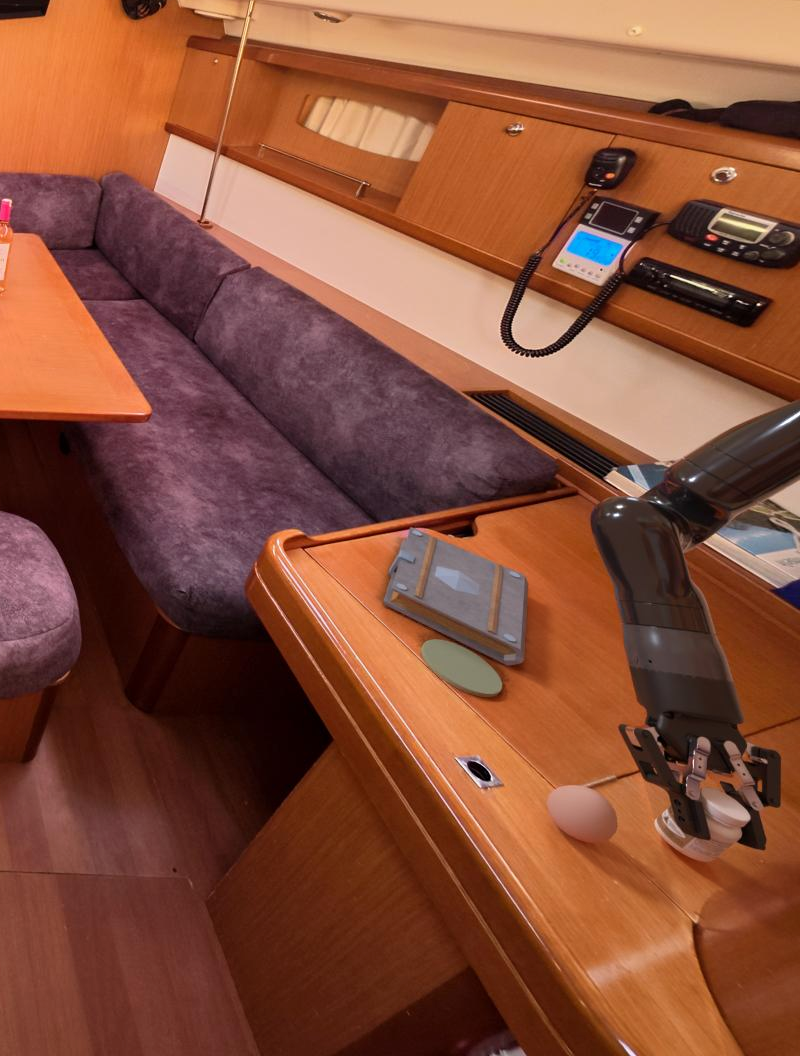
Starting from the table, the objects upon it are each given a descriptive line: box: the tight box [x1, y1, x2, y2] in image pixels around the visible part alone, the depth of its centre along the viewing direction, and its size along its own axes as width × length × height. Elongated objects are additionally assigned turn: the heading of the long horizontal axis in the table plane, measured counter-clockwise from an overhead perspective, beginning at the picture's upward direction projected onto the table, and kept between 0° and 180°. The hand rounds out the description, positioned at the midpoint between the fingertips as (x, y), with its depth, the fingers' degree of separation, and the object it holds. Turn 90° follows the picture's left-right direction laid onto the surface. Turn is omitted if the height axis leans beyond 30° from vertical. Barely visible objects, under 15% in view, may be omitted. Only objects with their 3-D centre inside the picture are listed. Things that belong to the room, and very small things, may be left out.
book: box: [382, 526, 529, 667], centre depth 104 cm, size 21×16×5 cm
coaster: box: [420, 638, 503, 698], centre depth 93 cm, size 9×9×1 cm
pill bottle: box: [653, 786, 751, 863], centre depth 70 cm, size 4×4×8 cm
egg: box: [546, 784, 618, 844], centre depth 73 cm, size 5×5×7 cm
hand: (723, 840), depth 68 cm, fingers closed on pill bottle, 4 cm apart
